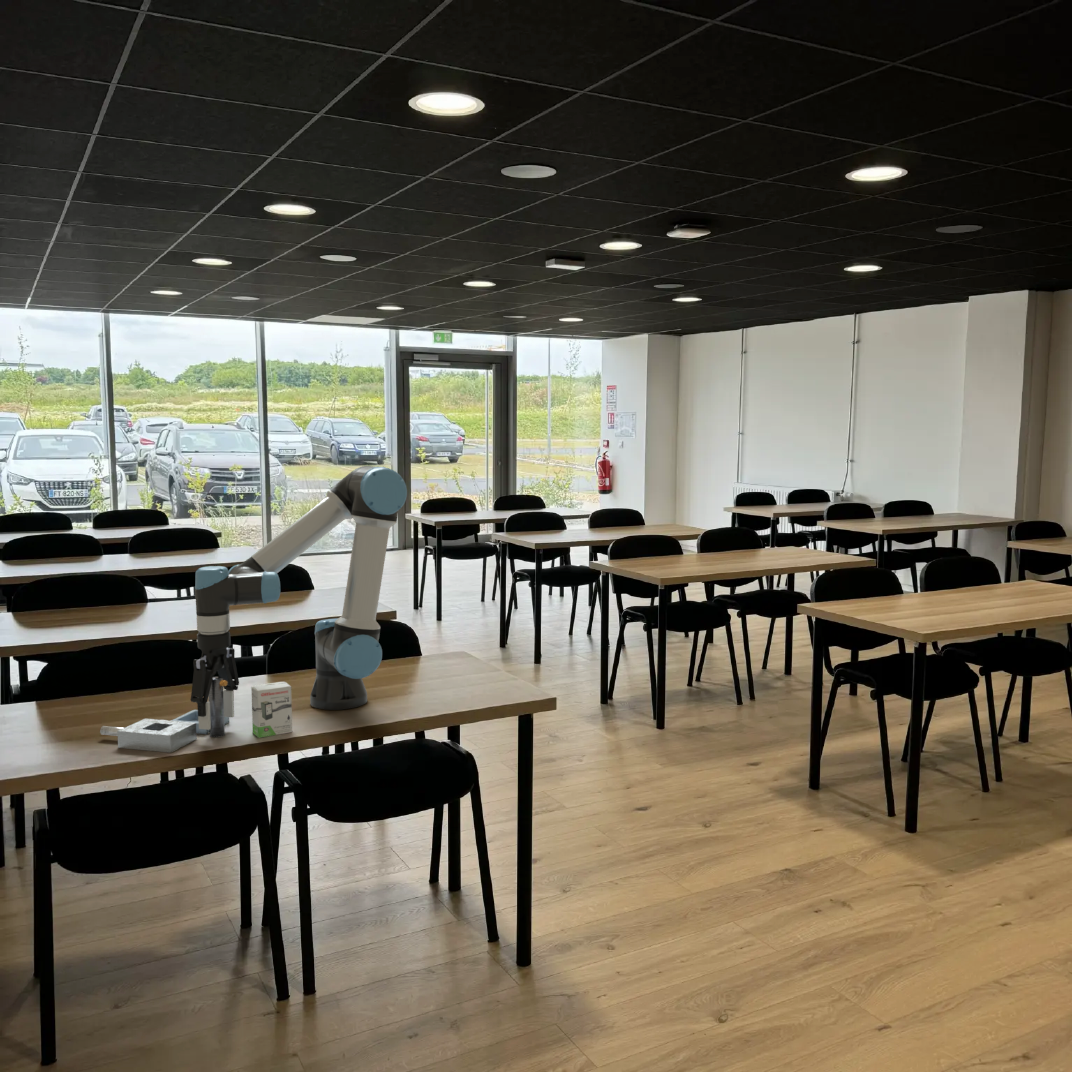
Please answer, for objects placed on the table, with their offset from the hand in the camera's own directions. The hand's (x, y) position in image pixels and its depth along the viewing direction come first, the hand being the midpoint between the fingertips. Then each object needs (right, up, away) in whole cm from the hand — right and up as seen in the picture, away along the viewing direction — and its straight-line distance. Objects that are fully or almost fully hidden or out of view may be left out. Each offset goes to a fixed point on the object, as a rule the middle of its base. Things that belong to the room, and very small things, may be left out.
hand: (216, 722), depth 230 cm
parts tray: (-7, -2, +7) cm, 10 cm away
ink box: (+13, -3, +2) cm, 13 cm away
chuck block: (-16, -4, -5) cm, 17 cm away
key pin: (0, -3, 0) cm, 3 cm away
